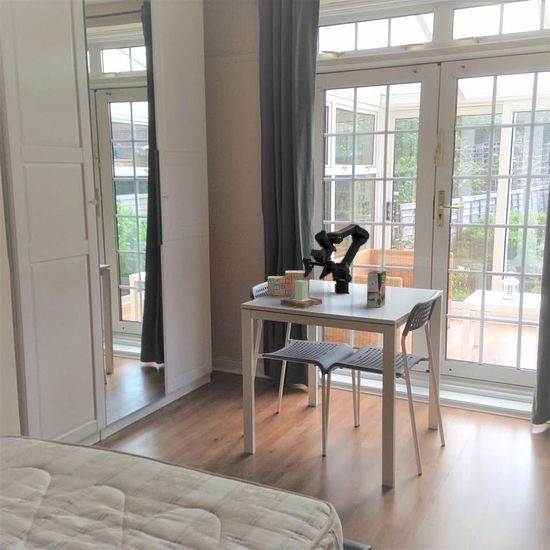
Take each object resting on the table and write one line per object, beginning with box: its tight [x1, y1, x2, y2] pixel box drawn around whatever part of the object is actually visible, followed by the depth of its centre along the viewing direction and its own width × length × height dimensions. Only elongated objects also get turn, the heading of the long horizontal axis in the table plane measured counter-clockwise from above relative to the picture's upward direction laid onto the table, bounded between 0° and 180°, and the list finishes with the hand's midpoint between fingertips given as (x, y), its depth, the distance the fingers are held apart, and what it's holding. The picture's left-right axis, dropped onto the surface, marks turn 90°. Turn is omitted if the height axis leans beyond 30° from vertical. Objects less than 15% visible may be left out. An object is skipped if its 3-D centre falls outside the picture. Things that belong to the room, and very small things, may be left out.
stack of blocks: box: [267, 270, 310, 297], centre depth 315 cm, size 21×6×12 cm, turn 88°
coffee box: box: [366, 270, 387, 309], centre depth 288 cm, size 9×6×16 cm
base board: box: [280, 296, 323, 309], centre depth 294 cm, size 14×14×2 cm
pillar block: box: [294, 280, 309, 301], centre depth 293 cm, size 4×4×9 cm
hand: (312, 278), depth 298 cm, fingers open, 9 cm apart
